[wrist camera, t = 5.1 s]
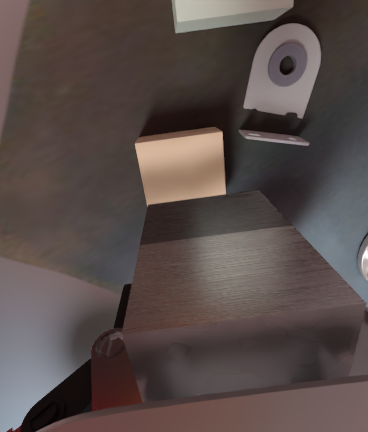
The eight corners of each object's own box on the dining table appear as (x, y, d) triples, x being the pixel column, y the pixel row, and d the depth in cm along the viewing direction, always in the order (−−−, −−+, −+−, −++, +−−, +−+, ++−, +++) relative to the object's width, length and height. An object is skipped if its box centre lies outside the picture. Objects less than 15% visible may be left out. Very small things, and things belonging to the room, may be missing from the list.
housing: (258, 307, 15) (327, 471, 8) (170, 319, 15) (170, 490, 8) (258, 190, 12) (366, 302, 5) (148, 204, 12) (121, 334, 5)
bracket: (325, 31, 24) (349, 22, 21) (294, 140, 29) (309, 146, 26) (259, 20, 24) (273, 9, 21) (237, 133, 28) (245, 138, 25)
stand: (219, 197, 31) (226, 211, 27) (152, 206, 31) (150, 221, 27) (214, 126, 27) (222, 131, 24) (138, 136, 27) (134, 143, 23)
